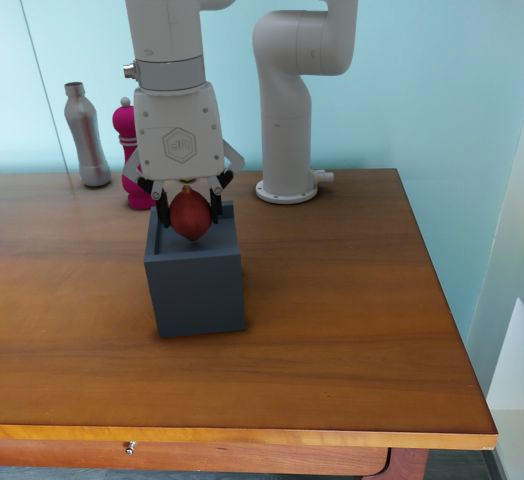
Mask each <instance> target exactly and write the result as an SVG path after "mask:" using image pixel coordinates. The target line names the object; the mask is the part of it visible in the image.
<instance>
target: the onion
mask: <svg viewBox="0 0 524 480" xmlns="http://www.w3.org/2000/svg"><path fill="white" fill-rule="evenodd" d="M209 202H210V201H208V199H207V198H205V196H204V195H202V194H201V193H200V192H199V191H197V190H195V189H193V188H192V186H190V185H189V184H184V185H183V186H182V188H181V191H179V192H178V193H177V194H176V195H175V196H174V197H173V199H172V200H171V202H170V204H169V205H170V206H169V222H170V225H171V227H172V228H173V229H174V230H175V232H176V233H178V234H179V235H181V236H183V237H185V238H187V239H188V240H190V241H192V242H195V241H197V240H198V239H199V238H200V237H202V236H203V235H204V234H205V233H206V232H207V231H208V230H209V228H210V226H211V224H212V210H211V206H210V204H209Z"/></svg>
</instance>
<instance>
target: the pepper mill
mask: <svg viewBox="0 0 524 480" xmlns="http://www.w3.org/2000/svg"><path fill="white" fill-rule="evenodd" d="M119 104H120V105H121V106H118V108H116V109H115V110H114V111H113V113H112V118H111V122H112V126H113V129H114V130H115V131H116V132H117V133H118V135H117V138H118V139H119V140H118V141H119V142H118V143H119V145H121V146H122V149H123V154H124V164H123V166H124V165H125V164H126V163H127V161H128V160H129V158H130V157H131V155H132V154H133V153H134V151H135V150H136V148H137V147H138V144H137V137H136V129H135V119H134V105H132V104H131V99H130V98H129V97H128V96H123V97H121V99H120V103H119ZM137 169H138V170H139V171H140V172H141V173H142V169H141V164H139V166H138V167H137ZM142 174H143V173H142ZM121 186H122V189H123V190H124V191H125V192H126V193H127V194H128V195H127V202H128V206H129V207H130V208H132V209H134V210H148V209H151V207H154V206H156V204H155V200H154V199H152V197H151V195H150V194H148V193H147V192H146V191H144V190H143V189H142V188H140V187H139V186H138V184H136V183H135V182H133V181H131V180H130V179H128V178H127V177H126V176H124V175H123V173H122V172H121Z"/></svg>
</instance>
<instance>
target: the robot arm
mask: <svg viewBox="0 0 524 480" xmlns="http://www.w3.org/2000/svg"><path fill="white" fill-rule="evenodd" d="M124 1H125V2H124V3H125V9H126V14H127V19H128V25H129V26H128V27H129V30H130V37H131V45H132V49H133V55H134V60H132V62H130V63H129V64H123V67H122V69H123V70H122V71H123V74H124V79H131V80H135V82H137V83H138V84H137V85H138V86H137V87H135V89H134V90H133V106H134V119H135V129H136V137H137V144H138V147H137V148H136V150H135V151H134V153H133V154H132V155H131V157H130V158H129V160H128V161H127V163H126V164H125V163H124V164H125V165H124V164H123V168H122V172H121V174H122V173H123V175H124V176H126V177H127V178H128V179H130V180H131V181H133V182H135V183H136V184H138V186H139V187H140V188H142V189H143V190H144V191H146V192H147V193H148V194H150V195H151V197H152V199H154V200H155V204H156V210H157V215H158V220H163V223H164V228H169V227H170V222H169V205H170V204H169V200H168V193H167V191H166V190H165V188H164V184H165V182H166V181H180V180H182V179H192V180H194V179H204V178H206V181H207V182H208V184H209V186H210V188H209V199H210V201H209V202H211V210H212V219H213V223H214V224H218V215H223V212H222V201H223V200H222V194H223V192H224V190H225V189H226V188H227V187H228V185H229V184H230V183H231V182H232V181H233V179H234V178H235V177H236V176H237V175H238V174H239V173H240V172H241V171H242V170H243V168H244V167H245V166H246V161H245V158H244V157H243V155H242V154H240V153H239V152H238V151H237V150H236V149H235V148H234V147H233V146H232V145H230V143H229V142H228V141H226V140H225V139H224V138H223V137H224V136H223V130H222V123H221V116H220V109H219V106H218V105H219V104H218V101H217V95H216V92H215V88H214V85H213V84H212V82H210V81H209V80H208V81H207V78H206V66H205V57H204V56H205V55H204V45H203V44H204V43H203V36H202V35H203V34H202V25H201V24H202V21H201V14H200V12H202V11H203V12H205V11H206V12H207V11H208V12H210V11H211V12H213V11H214V12H216V11H222V10H225V9H227V8H229V7H231V6H232V5H233V4H235V2H236V1H237V0H124ZM320 1H323V2H325V4H326V7H327V10H307V9H276V10H272V11H269V12H266V13H264V14H263V15H261V16H259V18H258V19H257V20H256V22H255V23H254V26H253V29H252V33H251V35H252V37H251V39H252V40H251V41H252V42H251V43H252V44H251V45H252V52H253V56H254V62H255V67H256V72H257V80H258V88H259V90H258V91H259V105H260V106H259V107H260V108H259V109H260V132H261V133H260V134H261V158H262V159H261V161H262V180H260V181H259V182H257V184H256V186H255V194H256V196H257V197H258V198H259V199H261V200H263V201H265V202H267V203H271V204H277V205H293V204H294V205H295V204H300V203H304V202H307V201H309V200H311V199H312V198H314V197H315V196H317V193H318V184H321V183H324V184H326V183H327V184H328V183H333V182H334V178H335V177H334V175H335V174H334V172H326V170H325V169H318V170H314V169H313V168H312V166H311V156H312V155H311V152H312V151H311V148H312V111H313V110H312V109H313V107H312V106H313V105H312V96H311V93H310V91H309V89H308V87H307V85H306V83H305V81H304V79H303V78H302V76H317V77H318V76H321V77H338V76H341V75H344V74H346V72H347V71H349V69H350V67H351V64H352V62H353V58H354V54H355V53H354V52H355V45H356V44H355V43H356V34H357V33H356V32H357V20H358V9H359V0H320ZM225 159H226V160H228V161H229V162H230V163H229V164H228V166H227V167H225V165H226V163H225V162H226V161H225ZM139 164H141V169H142V173H143V174H142V173H141V172H140V171H139V170H138V169H137V167H138V166H139ZM182 181H183V180H182Z"/></svg>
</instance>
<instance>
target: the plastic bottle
mask: <svg viewBox="0 0 524 480" xmlns="http://www.w3.org/2000/svg"><path fill="white" fill-rule="evenodd" d="M63 87H64V92H65V96H66V97H67V100H66V103H65V106H64V108H63V115H64V119H65V120H66V124H67V126H68V128H69V130H70V133H71V137H72V140H73V142H74V146H75V150H76V157H77V161H78V173H79V176H80V178H81V180H82V181H81V182H83V183H84V184H85V185H86V186H89V187H100V186H104V185H107V184H108V183H109V182H110V180H111V168H110V165H109V163H108V161H107V159H106V155H105V152H104V149H103V146H102V142H101V141H102V140H101V137H100V131H99V130H100V129H99V121H98V120H99V119H98V111H97V109H96V107H95V105H94V104H93V103H92V101H90V99H88V98H87V97H86V90H85V86H84V83H83V82H82V81H71V82H67V83H65V84H64V85H63Z"/></svg>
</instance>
